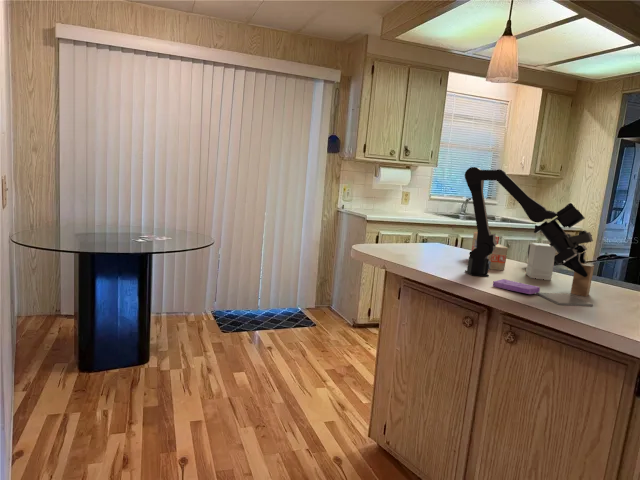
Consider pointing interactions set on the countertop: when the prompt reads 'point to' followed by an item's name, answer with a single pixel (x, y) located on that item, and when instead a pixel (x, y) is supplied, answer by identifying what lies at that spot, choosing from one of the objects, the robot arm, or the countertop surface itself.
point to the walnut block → (582, 281)
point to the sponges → (516, 286)
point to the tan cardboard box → (494, 254)
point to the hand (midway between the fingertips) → (588, 275)
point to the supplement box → (540, 261)
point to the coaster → (564, 299)
